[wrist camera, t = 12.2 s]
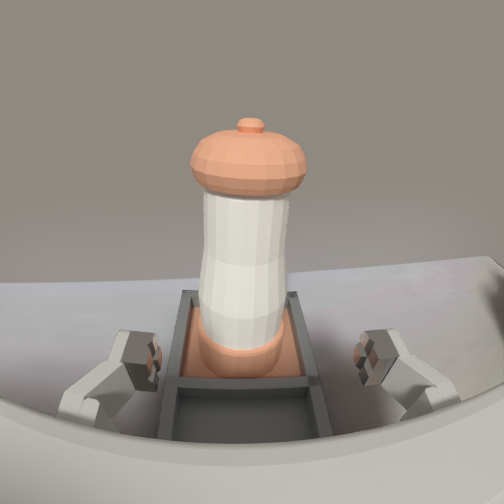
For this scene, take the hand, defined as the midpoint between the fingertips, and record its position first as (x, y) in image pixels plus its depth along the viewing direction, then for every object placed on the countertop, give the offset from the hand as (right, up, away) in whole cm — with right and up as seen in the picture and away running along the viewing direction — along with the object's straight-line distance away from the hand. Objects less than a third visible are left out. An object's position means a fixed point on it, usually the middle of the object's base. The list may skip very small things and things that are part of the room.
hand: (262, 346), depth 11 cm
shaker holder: (-1, -8, +11) cm, 14 cm away
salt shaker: (-1, -5, +15) cm, 16 cm away
